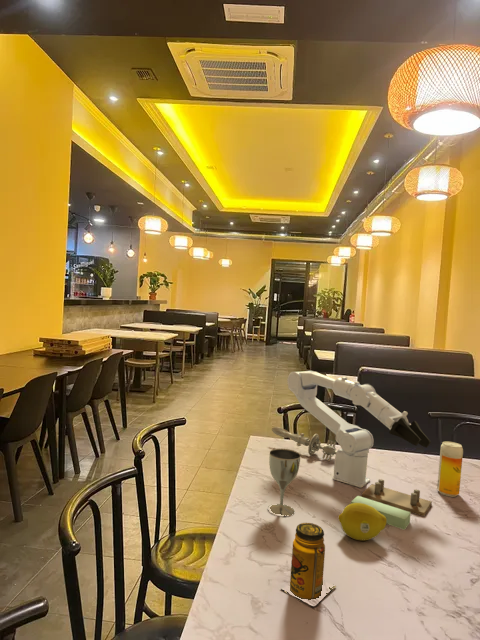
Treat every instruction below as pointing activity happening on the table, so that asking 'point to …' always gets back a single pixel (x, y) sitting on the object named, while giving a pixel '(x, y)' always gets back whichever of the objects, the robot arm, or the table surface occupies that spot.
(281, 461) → the wine glass
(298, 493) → the table surface
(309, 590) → the condiment
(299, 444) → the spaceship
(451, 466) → the beer can
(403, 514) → the shelf board
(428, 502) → the peg base
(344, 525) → the lemon
